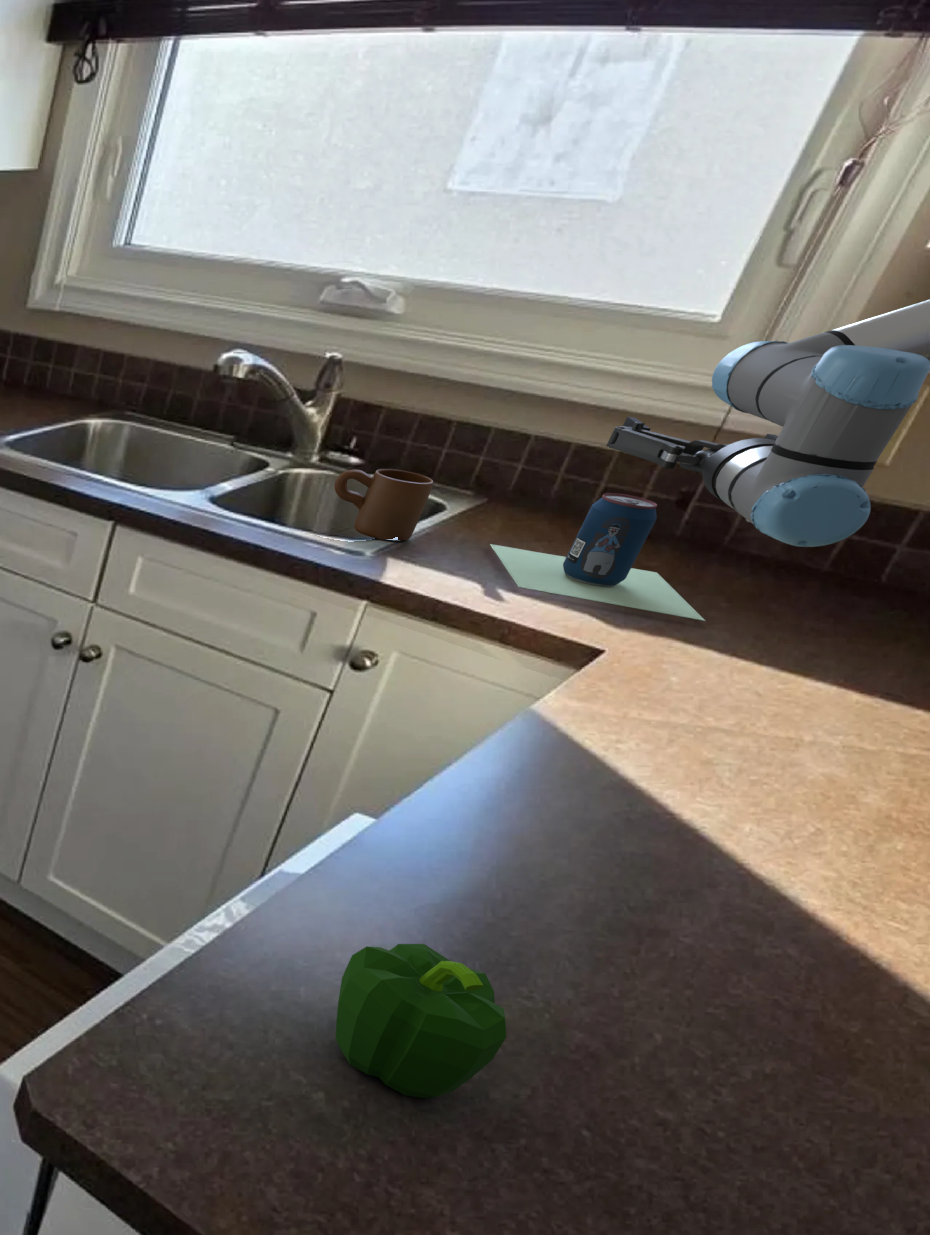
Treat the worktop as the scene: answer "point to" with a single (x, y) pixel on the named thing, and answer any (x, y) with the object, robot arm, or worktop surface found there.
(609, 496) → the soda can
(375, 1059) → the bell pepper
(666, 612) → the mat
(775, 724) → the worktop surface
